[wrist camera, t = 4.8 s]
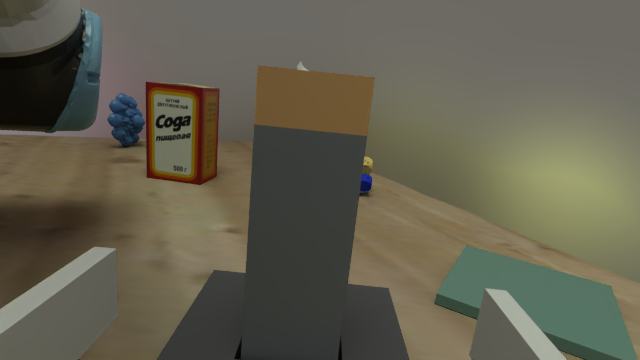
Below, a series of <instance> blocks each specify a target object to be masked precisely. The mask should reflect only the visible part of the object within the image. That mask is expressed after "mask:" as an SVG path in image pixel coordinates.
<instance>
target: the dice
mask: <svg viewBox="0 0 640 360" xmlns="http://www.w3.org/2000/svg"><path fill="white" fill-rule="evenodd" d="M372 162H373V161H372V160H371V159H370V158H368V157H364V163H363V171H362V178H361V186H360V193H367V192H368V191H369V190H370V189H371V185H372V177H371V176H369V174H370V173H371V171H372Z"/></svg>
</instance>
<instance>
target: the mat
mask: <svg viewBox="0 0 640 360" xmlns="http://www.w3.org/2000/svg"><path fill="white" fill-rule="evenodd" d="M485 288H487V289H496V290H506V291H507V292H508V293H509V294H510V295H511V296H512V298H513V299H514V300H515V301H516V302H517V303H518V304H519V306H520V307H521V308H522V309H523V310H524V311H525V312H526V314H527V315H528V316H529V317H530V318H531V319H532V320H533V322H534V323H535V324H536V325H537V326H538V327H539V329H540V330H541V331H542V332H543V333H544V334H545V335H546V337H547V338H548V339H549V340H550V341H551V342H552V343H553V345H554V346H555V347H556V348H557V349H559V350H561V351H564V352H567V353H569V354H572V355H575V356H577V357H580V358H583V359H586V360H637V357H636V354H635V351H634V348H633V346H632V343H631V340H630V337H629V335H628V332H627V329H626V326H625V323H624V321H623V318H622V315H621V312H620V310H619V307H618V304H617V301H616V299H615V296H614V293H613V290H612V287H611V286H609V285H606V284H602V283H598V282H595V281H591V280H588V279H584V278H581V277H577V276H574V275H570V274H567V273H563V272H560V271H556V270H552V269H549V268H545V267H542V266H538V265H535V264H531V263H528V262H524V261H521V260H517V259H514V258H510V257H506V256H503V255H499V254H496V253H492V252H489V251H485V250H482V249H478V248H475V247H471V246H468V245H466V247H465V249H464V250H463V252H462V254H461V255H460V257H459V258H458V260H457V262H456V263H455V265H454V267H453V268H452V270H451V271H450V273H449V275H448V276H447V278H446V279H445V281H444V283H443V284H442V286H441V288H440V289H439V291H438V292H437V295H436V300H435V304H437V305H440V306H443V307H446V308H448V309H451V310H454V311H456V312H459V313H462V314H464V315H467V316H470V317H472V318H475V319H478V315H479V311H480V307H481V302H482V298H483V294H484V290H485Z"/></svg>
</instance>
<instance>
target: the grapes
mask: <svg viewBox="0 0 640 360" xmlns="http://www.w3.org/2000/svg"><path fill="white" fill-rule="evenodd" d="M109 107H110V109H111V110H112V112H113V113H112V114H110V116H109V117H108V122H109V124H110V125H111V126H113V127H114V129H113V130H112V135H113V137H114V138H115V139H116V140H119V141H120V143H121V144H122V145H123V146H127V147H128V146H130V145H131V143H132V144H134V143H136V142H137V141H138V140H139V136H138V133H140V132H141V130H142V129H143V125H144V124H145V121H144V120H143V118H142V113H141V112H140V111H139V109H137V108H136V107H137V102H136V101H135V100H134V99H133V98H132V97H127V95H125V94H123V93H120V94H118V96H117V97H116V99H115V100H113V101H112V102H111V103H110V105H109Z"/></svg>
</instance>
